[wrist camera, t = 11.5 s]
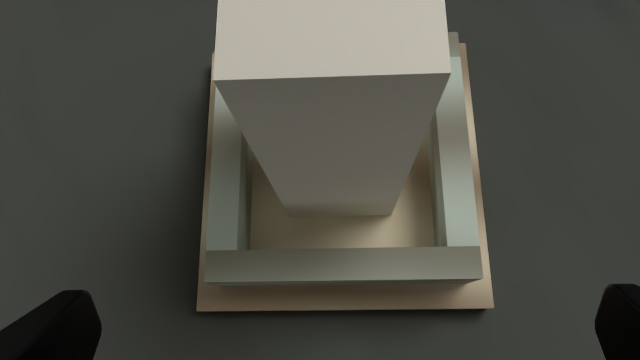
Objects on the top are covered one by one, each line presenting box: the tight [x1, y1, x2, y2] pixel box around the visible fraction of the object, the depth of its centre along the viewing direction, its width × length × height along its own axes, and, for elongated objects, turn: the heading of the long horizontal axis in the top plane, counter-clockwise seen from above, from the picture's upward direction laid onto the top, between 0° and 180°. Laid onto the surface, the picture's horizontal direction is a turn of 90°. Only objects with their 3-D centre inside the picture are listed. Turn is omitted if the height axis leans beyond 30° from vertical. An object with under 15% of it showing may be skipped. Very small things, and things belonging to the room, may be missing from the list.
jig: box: [196, 32, 494, 312], centre depth 21 cm, size 12×12×4 cm
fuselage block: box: [213, 0, 451, 217], centre depth 16 cm, size 4×4×12 cm
